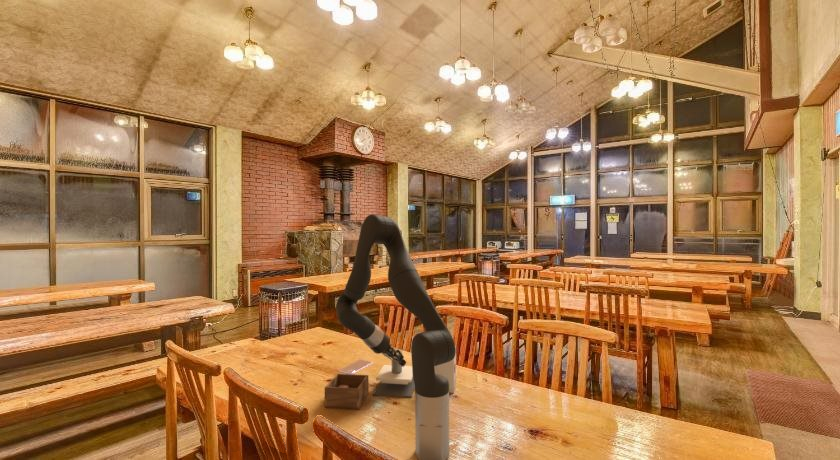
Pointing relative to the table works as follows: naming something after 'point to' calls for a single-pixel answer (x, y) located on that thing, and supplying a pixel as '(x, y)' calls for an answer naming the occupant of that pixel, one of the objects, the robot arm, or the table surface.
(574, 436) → the table surface
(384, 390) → the rubber mat
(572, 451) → the table surface
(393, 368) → the lid
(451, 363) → the supplement box
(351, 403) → the walnut box
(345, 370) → the mobile phone
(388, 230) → the robot arm
